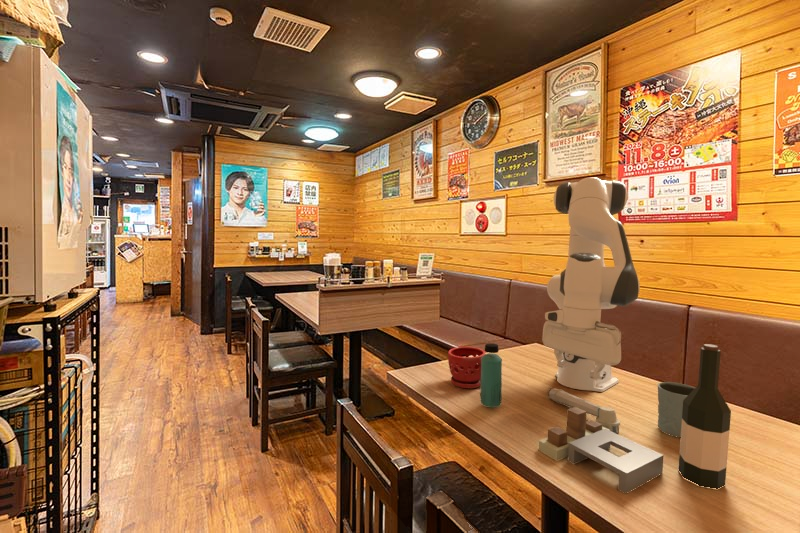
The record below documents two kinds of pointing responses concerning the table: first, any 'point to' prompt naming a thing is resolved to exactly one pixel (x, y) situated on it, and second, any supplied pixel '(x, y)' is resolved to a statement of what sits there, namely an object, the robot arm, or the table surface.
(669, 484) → the table surface
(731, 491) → the table surface
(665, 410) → the grey cup
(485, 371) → the beverage bottle
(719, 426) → the wine bottle
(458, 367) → the plant pot
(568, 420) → the pin long
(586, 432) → the peg rack
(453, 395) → the table surface
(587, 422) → the pin short
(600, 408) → the beige long piece
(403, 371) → the table surface
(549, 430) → the pin medium
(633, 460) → the hole bridge
